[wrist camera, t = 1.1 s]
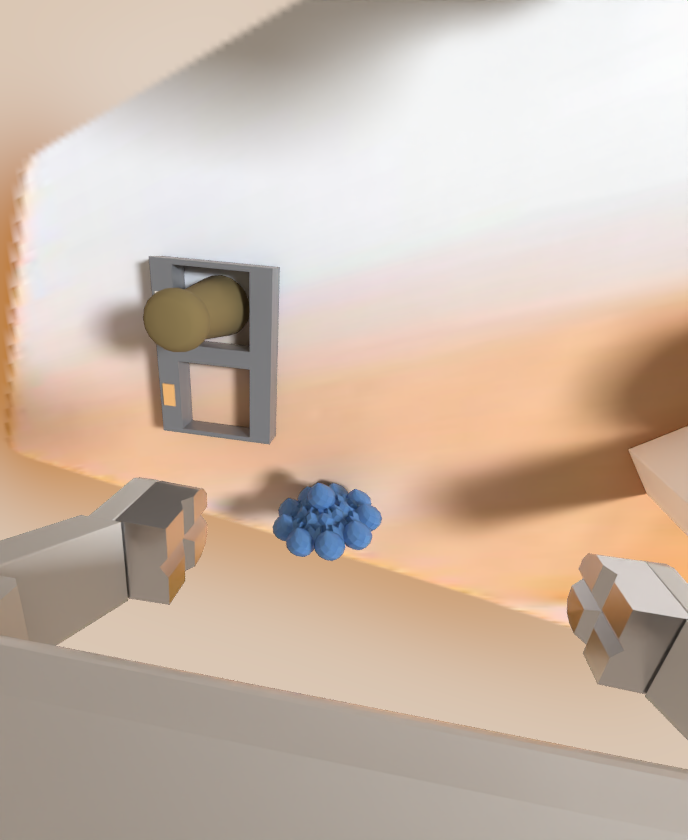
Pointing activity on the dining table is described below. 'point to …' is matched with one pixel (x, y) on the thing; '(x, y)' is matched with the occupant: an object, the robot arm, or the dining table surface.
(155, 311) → the cork
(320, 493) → the grapes
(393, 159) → the dining table surface
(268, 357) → the panel
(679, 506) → the milk
